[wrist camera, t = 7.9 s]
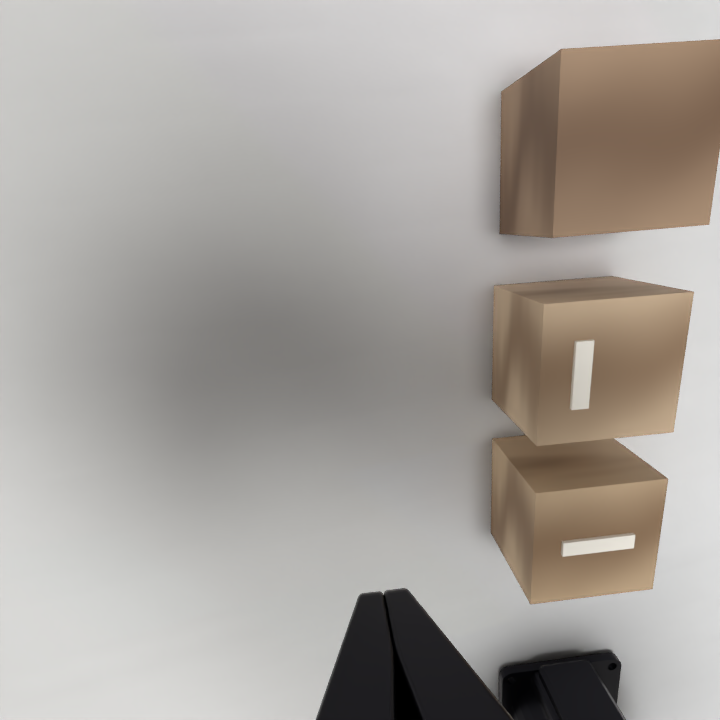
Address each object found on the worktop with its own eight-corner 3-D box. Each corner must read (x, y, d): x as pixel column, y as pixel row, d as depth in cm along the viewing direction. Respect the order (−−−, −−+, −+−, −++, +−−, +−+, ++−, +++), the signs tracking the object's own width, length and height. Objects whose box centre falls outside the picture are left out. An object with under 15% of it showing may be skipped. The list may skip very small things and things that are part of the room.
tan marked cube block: (603, 387, 21) (680, 433, 16) (490, 398, 20) (538, 447, 16) (613, 275, 19) (701, 292, 15) (493, 285, 19) (545, 304, 15)
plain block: (619, 223, 19) (709, 224, 14) (498, 233, 18) (552, 237, 14) (631, 83, 17) (734, 38, 13) (500, 92, 17) (560, 49, 13)
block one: (592, 519, 23) (658, 590, 18) (489, 531, 22) (531, 606, 18) (601, 426, 21) (674, 480, 17) (491, 437, 21) (537, 495, 17)
